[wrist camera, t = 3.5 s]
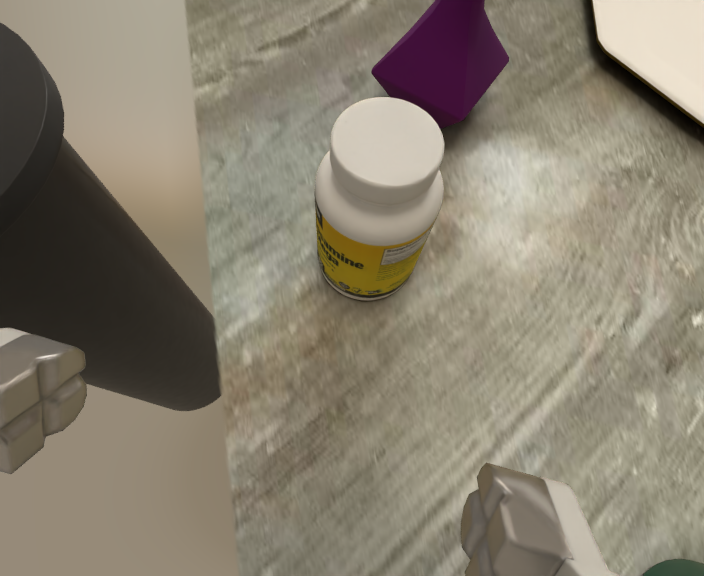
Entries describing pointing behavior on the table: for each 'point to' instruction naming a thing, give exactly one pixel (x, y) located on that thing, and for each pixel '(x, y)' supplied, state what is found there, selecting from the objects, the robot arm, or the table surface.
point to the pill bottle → (377, 196)
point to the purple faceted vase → (444, 61)
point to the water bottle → (677, 568)
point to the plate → (657, 46)
